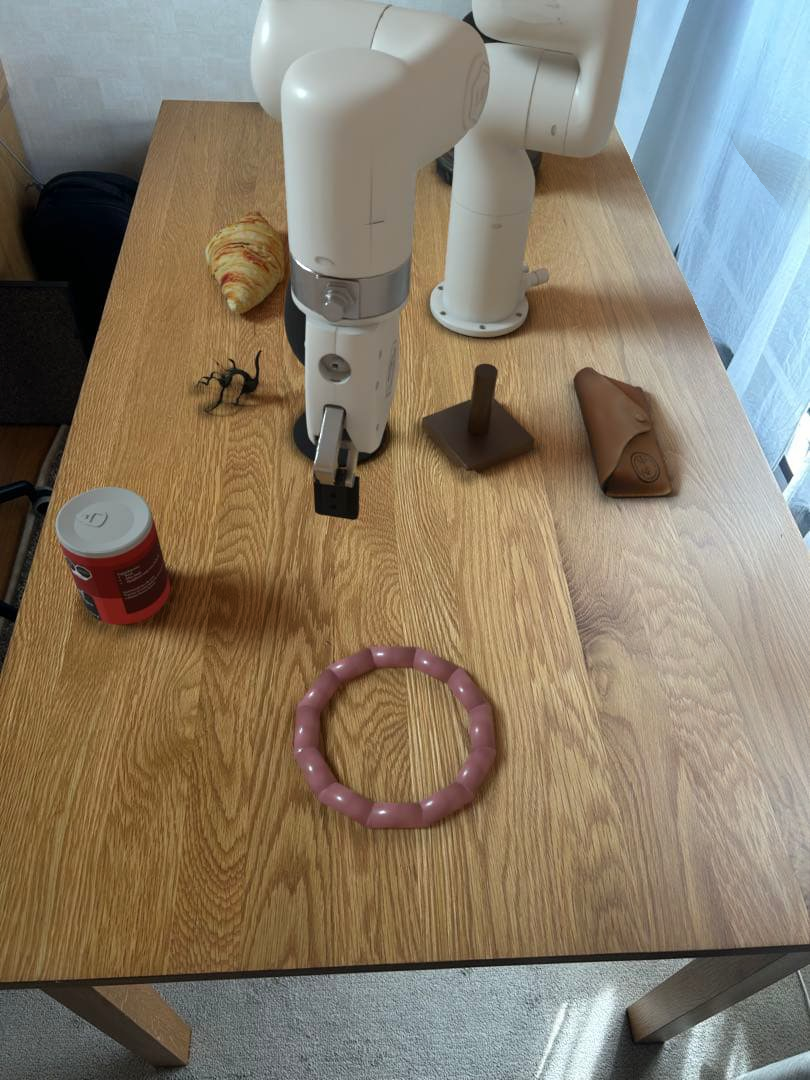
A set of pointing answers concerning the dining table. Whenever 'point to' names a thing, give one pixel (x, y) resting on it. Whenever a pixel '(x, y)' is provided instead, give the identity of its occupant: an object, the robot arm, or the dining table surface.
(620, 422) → the sunglasses case
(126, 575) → the canned food
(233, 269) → the croissant
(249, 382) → the creature
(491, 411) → the stand
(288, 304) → the wine glass
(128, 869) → the dining table surface
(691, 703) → the dining table surface
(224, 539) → the dining table surface
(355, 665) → the ring
